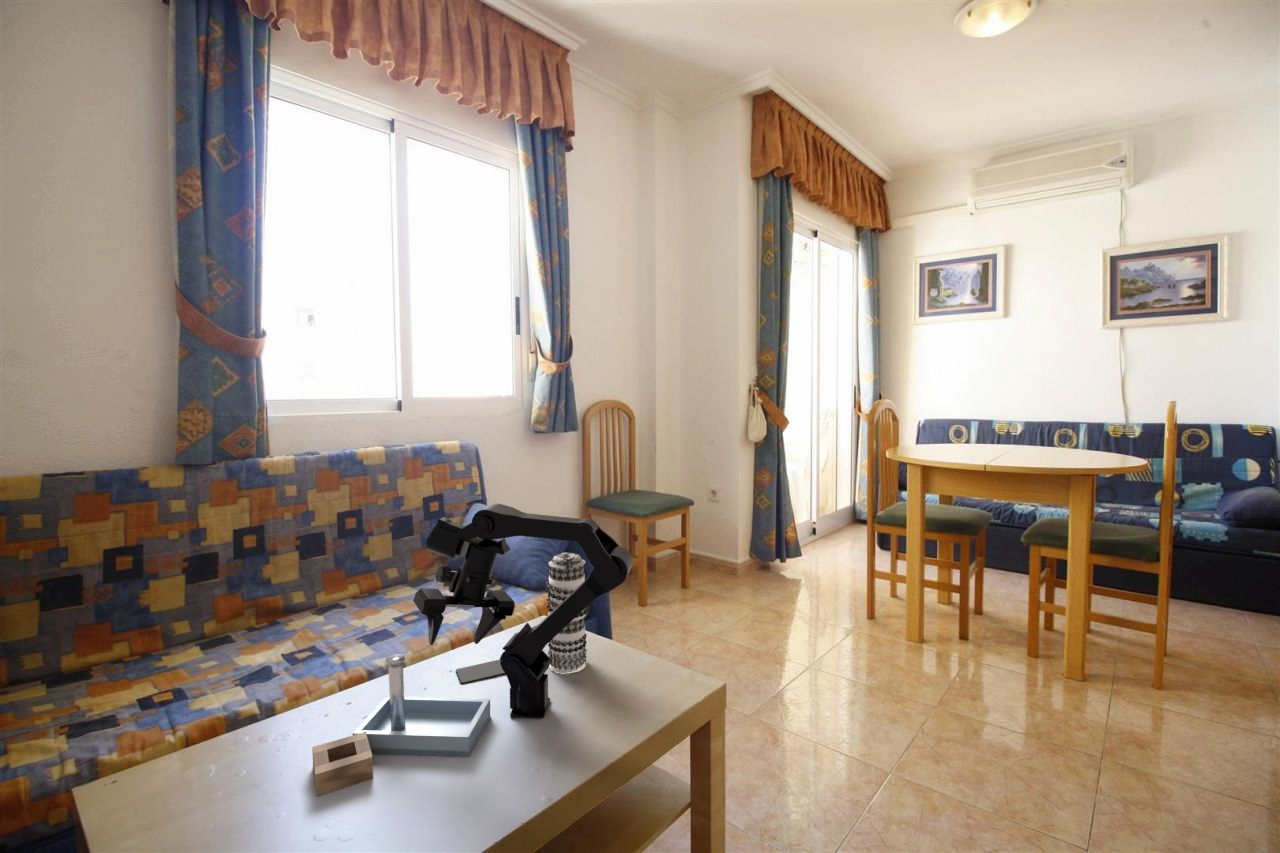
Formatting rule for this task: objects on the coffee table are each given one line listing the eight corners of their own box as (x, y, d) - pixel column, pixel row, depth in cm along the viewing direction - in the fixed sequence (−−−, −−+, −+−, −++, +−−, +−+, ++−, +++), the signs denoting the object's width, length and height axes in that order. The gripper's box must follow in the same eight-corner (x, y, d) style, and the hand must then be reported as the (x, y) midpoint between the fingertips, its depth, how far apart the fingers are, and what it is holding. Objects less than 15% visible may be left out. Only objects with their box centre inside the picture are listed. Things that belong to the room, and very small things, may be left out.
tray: (490, 716, 111) (490, 698, 111) (468, 756, 99) (468, 736, 99) (387, 713, 112) (386, 696, 112) (353, 753, 100) (352, 733, 100)
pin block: (366, 751, 101) (365, 731, 100) (373, 777, 94) (372, 756, 94) (313, 767, 96) (312, 747, 96) (316, 796, 90) (315, 774, 89)
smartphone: (455, 669, 129) (522, 654, 136) (455, 673, 129) (522, 657, 136) (460, 683, 123) (530, 666, 129) (460, 687, 123) (530, 670, 130)
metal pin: (411, 723, 107) (408, 655, 106) (400, 734, 104) (397, 663, 103) (396, 721, 108) (393, 653, 107) (384, 731, 105) (381, 661, 103)
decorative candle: (544, 658, 135) (543, 551, 133) (584, 653, 137) (584, 548, 135) (548, 677, 126) (547, 563, 124) (591, 672, 128) (590, 560, 126)
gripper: (503, 554, 125) (481, 623, 126) (417, 547, 113) (393, 623, 114) (526, 577, 117) (503, 650, 117) (436, 572, 105) (410, 653, 105)
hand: (453, 643), depth 114 cm, fingers open, 9 cm apart
